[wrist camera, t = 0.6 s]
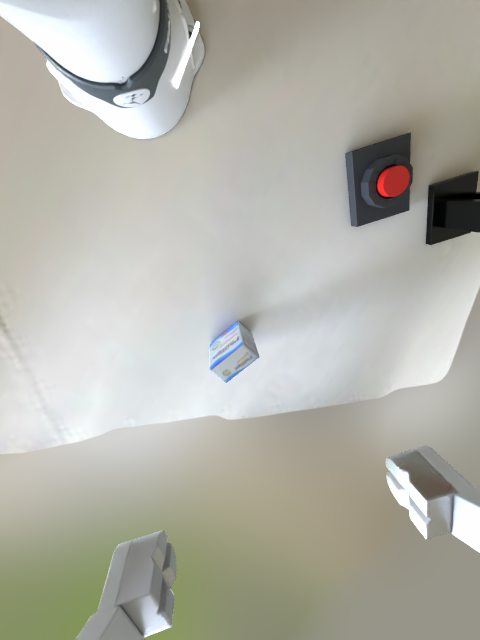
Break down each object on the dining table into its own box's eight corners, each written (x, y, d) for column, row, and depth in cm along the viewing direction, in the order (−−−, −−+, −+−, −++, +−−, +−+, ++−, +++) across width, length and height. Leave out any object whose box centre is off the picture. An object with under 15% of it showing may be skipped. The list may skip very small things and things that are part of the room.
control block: (345, 153, 39) (358, 149, 36) (401, 135, 39) (421, 128, 35) (351, 225, 44) (363, 228, 41) (401, 209, 44) (418, 210, 40)
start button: (375, 171, 38) (382, 170, 36) (401, 163, 37) (410, 161, 36) (376, 200, 39) (383, 200, 38) (401, 192, 39) (409, 191, 38)
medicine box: (238, 319, 50) (243, 342, 42) (252, 333, 51) (260, 358, 44) (208, 344, 51) (209, 370, 43) (223, 357, 53) (226, 384, 45)
